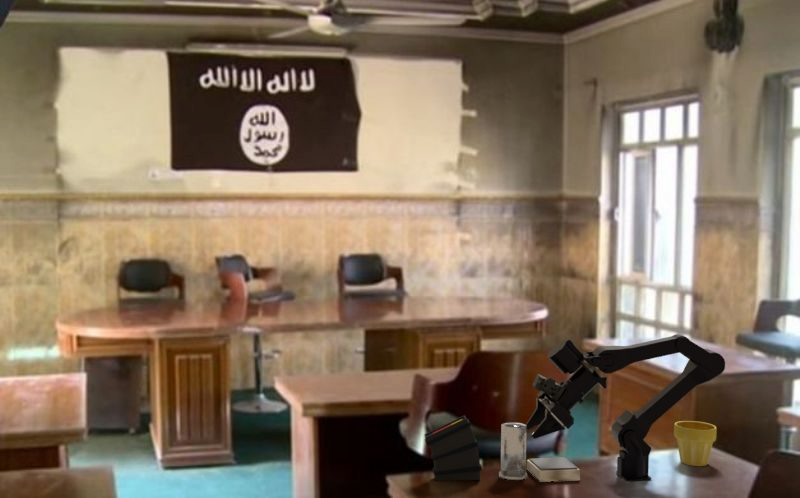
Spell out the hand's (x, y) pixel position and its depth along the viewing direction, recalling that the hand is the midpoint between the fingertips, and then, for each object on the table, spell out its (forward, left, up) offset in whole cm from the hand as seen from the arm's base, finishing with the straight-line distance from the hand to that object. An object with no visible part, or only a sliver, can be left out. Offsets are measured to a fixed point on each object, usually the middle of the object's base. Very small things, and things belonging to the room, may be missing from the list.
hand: (529, 432), depth 218 cm
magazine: (+19, -1, -11) cm, 22 cm away
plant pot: (-46, -7, -11) cm, 48 cm away
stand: (-6, -1, -11) cm, 12 cm away
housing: (+4, -1, -11) cm, 11 cm away
